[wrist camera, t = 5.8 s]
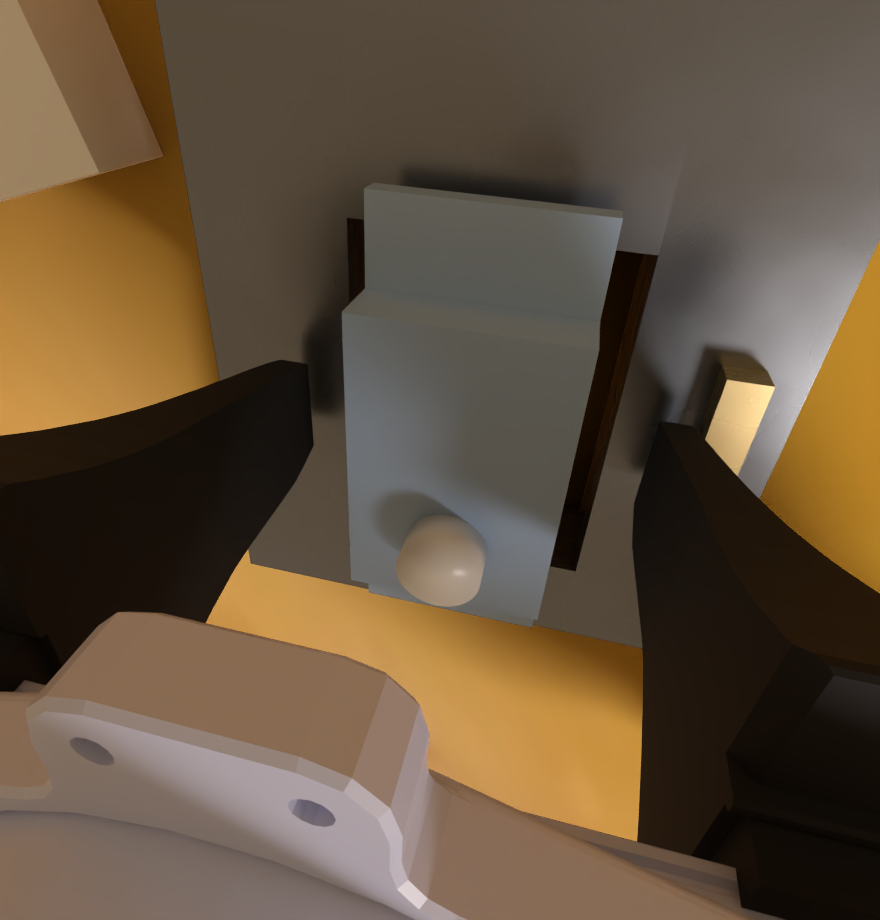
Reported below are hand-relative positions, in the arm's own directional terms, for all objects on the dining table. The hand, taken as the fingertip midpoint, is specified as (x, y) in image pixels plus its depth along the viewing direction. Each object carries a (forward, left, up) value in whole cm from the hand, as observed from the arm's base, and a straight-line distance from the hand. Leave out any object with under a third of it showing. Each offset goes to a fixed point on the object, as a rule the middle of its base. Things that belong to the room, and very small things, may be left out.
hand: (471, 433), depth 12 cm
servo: (0, 0, -3) cm, 3 cm away
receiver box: (+11, -5, -3) cm, 13 cm away
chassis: (0, -1, -3) cm, 3 cm away
